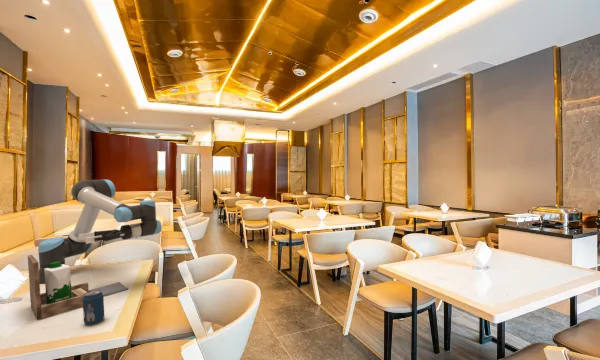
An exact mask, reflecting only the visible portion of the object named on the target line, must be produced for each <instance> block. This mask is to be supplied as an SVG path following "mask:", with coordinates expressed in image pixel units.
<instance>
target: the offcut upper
mask: <svg viewBox="0 0 600 360" xmlns="http://www.w3.org/2000/svg"><path fill="white" fill-rule="evenodd" d="M71 291H72V297H77V296H81V295H84V294H85V293H87V292H86V291H84V290H83V289H81V288H79V289H75V290H71Z"/></svg>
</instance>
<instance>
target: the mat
mask: <svg viewBox="0 0 600 360" xmlns="http://www.w3.org/2000/svg"><path fill="white" fill-rule="evenodd" d="M88 290H89V291H93V290H101V292H102V293H103V298H104V297H107V296H110V295H114V294H117V293H121V292H124V291H127V290H129V287H128V286H126V285H124V284H123V283H121V282H115V283H110V284H107V285H103V286H100V287H95V288H91V289H88Z"/></svg>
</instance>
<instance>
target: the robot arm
mask: <svg viewBox="0 0 600 360" xmlns="http://www.w3.org/2000/svg"><path fill="white" fill-rule="evenodd" d="M70 194H71V196H72V198H73V200H75V201H77V202H79V203H81V204H84V205H83V208H82V210H81V213H80V215H79V217H78V219H77V222H76V225H75V227H74V229H73V230H72V231H70V232H69V234H68V236H67V237H65V238H64V237H61V236H58V237H54V238H53V237H51V238H49V239H45V240H42V241H41V242H39V244H38V250H37V251H38V265H39V281H40V284H45V273H44V269H45V268H49V267H50V263H52V262H56V261H61V265H62V264H65V265H67V264H66V258H67V259H68V258H70V257H71V258H72V257H75V256H79V255H83V254H86V253H88V252H89V251H90V250H92V247H93V246H94V245H93V244H94V243H98V242H99V243H100V242H108V241H112V240H116V239H120V238H121V240H124V241H125V240H129V239H138V238H142V237H147V236H153V235H157V234H160V233H161V232H162V228H163V226H162V223H161V221H160V220H157V210H156V209H157V208H156V202H155V200H154V199H146V200H145V199H144V200H140V202H139V204H137V205H127V204H125V203H123V202H121V201H119V200H116V199H113V198H114V197H115V195H116V186H115V184H114V183H113V181H111V180H110V179H102V178H101V179H83V180H80V181H77V182H76V183H74V184H73V186H72V187H71V193H70ZM101 211H103V212H105V213H107V214H110V215H112V216H113V219H114V220H115V221H116V222H117V223H128V222H133V221H137V220H140V222H136V223H135V222H134V223H130V224H124V225H123V224H122V225H121V226H120V228H119V229H117V228H116V229H108V230H99V231H96V230H95V231H93V232H92V230H93V227H94V226H95V223H96V221H97V218H98V216H99V213H100V212H101Z"/></svg>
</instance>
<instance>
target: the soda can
mask: <svg viewBox="0 0 600 360" xmlns="http://www.w3.org/2000/svg"><path fill="white" fill-rule="evenodd" d="M104 301H105V300H104V297H103V293H102V292H101V290H93V291H89V292H87V293H85V294H84V297H83V307H82V314H83V315H82V316H83V322H84V324H85V325H87V326H95V325H98V324H100V323H101V322H102V321H103V320H104V318H105V304H104Z"/></svg>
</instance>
